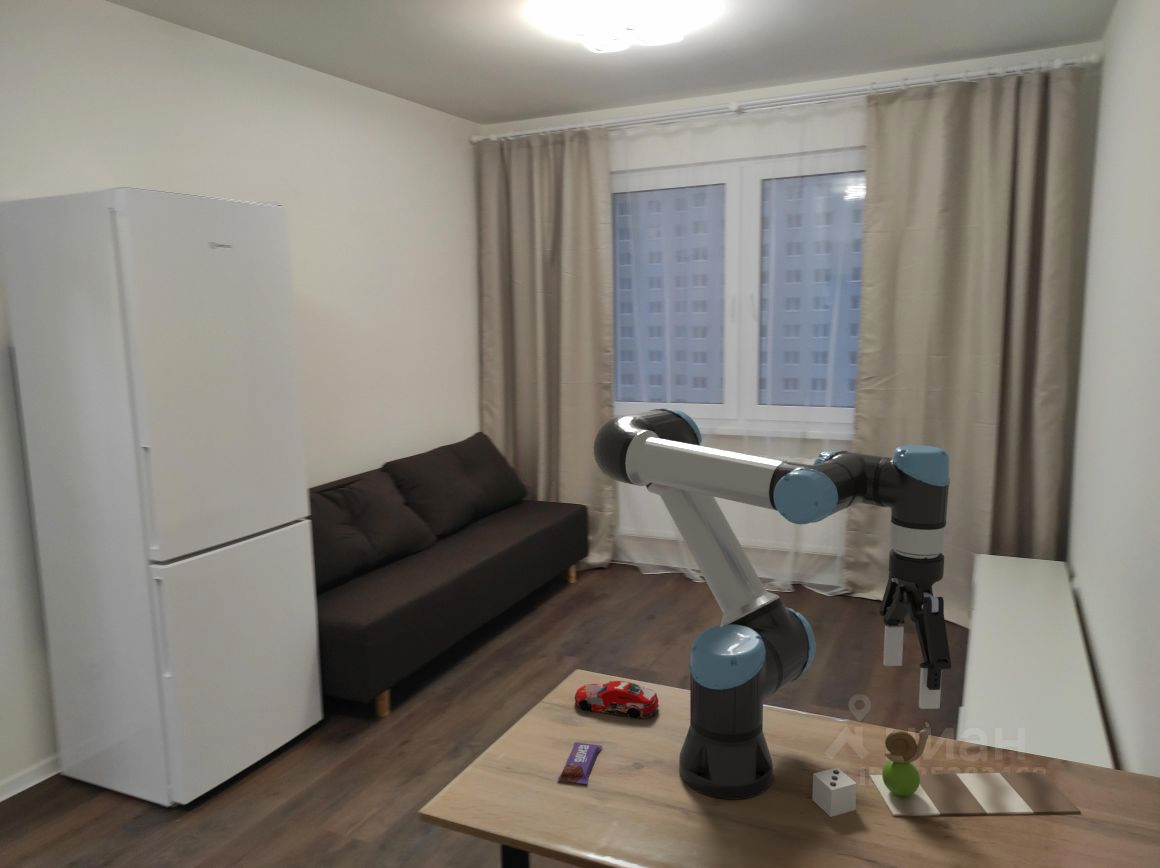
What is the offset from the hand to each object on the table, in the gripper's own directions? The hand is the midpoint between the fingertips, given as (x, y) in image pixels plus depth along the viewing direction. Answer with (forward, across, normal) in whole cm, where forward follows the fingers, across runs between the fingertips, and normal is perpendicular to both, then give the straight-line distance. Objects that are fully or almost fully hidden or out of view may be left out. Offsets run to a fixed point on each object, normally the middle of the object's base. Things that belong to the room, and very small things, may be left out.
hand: (909, 685), depth 122 cm
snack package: (+19, +10, +50) cm, 55 cm away
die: (+18, -2, +12) cm, 22 cm away
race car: (+19, +29, +44) cm, 56 cm away
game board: (+18, 0, -10) cm, 21 cm away
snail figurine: (+18, 0, 0) cm, 18 cm away
